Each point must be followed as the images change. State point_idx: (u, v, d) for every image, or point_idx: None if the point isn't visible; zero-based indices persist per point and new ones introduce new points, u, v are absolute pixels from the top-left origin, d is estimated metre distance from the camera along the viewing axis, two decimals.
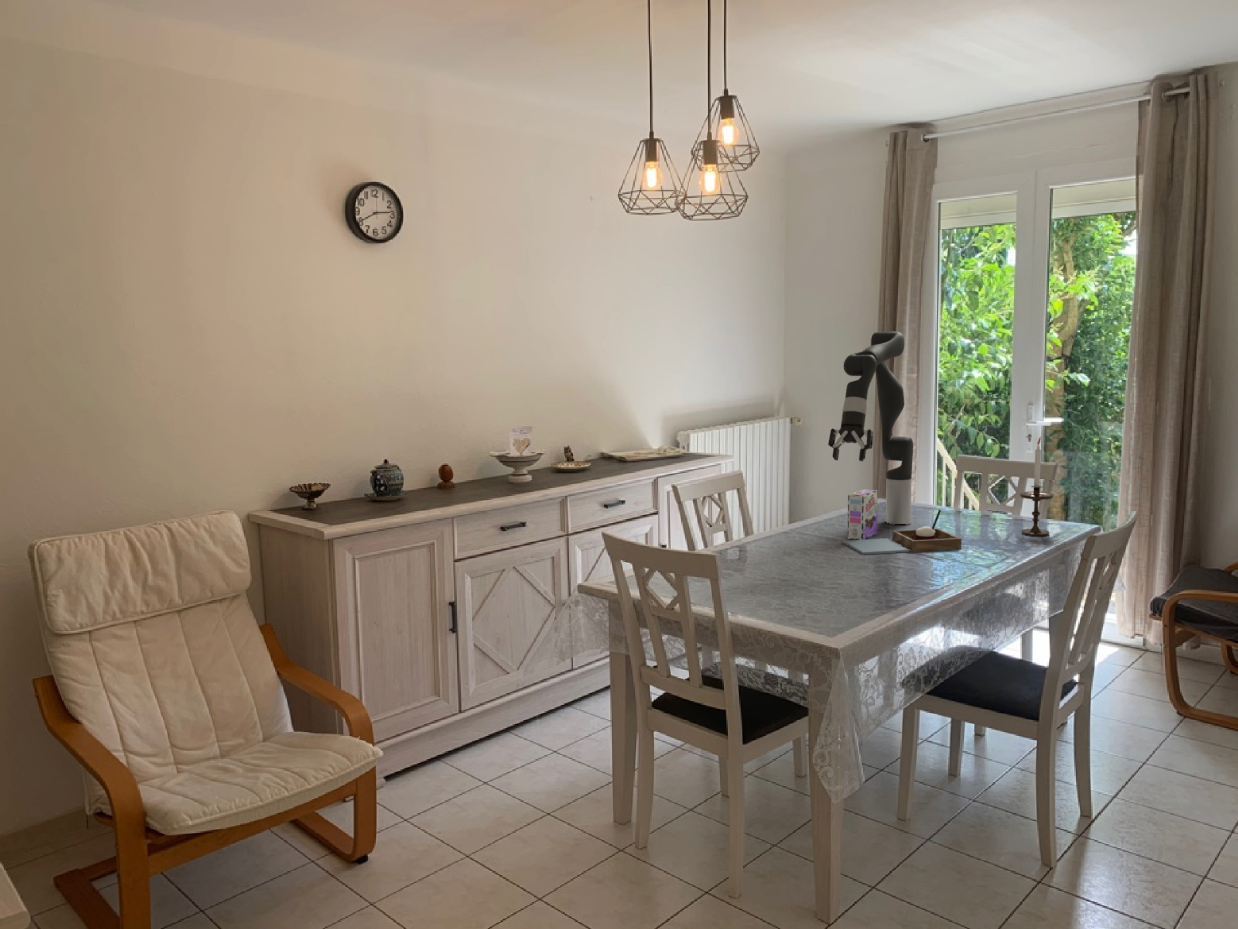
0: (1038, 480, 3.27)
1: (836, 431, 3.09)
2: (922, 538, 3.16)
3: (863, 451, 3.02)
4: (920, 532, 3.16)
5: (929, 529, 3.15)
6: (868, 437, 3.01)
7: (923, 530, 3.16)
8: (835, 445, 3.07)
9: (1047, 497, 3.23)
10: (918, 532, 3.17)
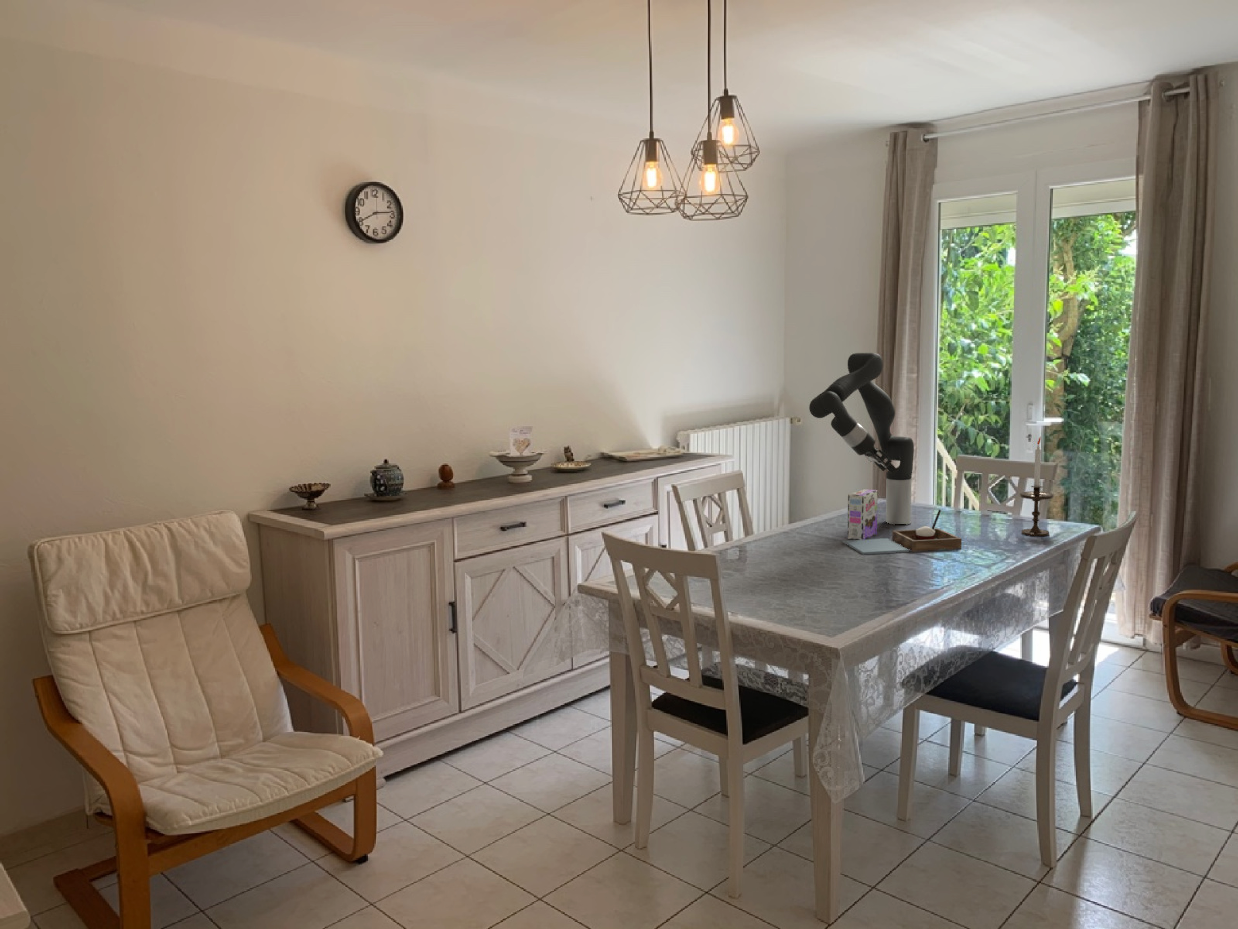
0: (1038, 480, 3.27)
1: None
2: (922, 538, 3.16)
3: (888, 468, 3.08)
4: (920, 532, 3.16)
5: (929, 529, 3.16)
6: (880, 460, 3.06)
7: (923, 530, 3.16)
8: (873, 462, 3.17)
9: (1047, 497, 3.23)
10: (918, 532, 3.17)
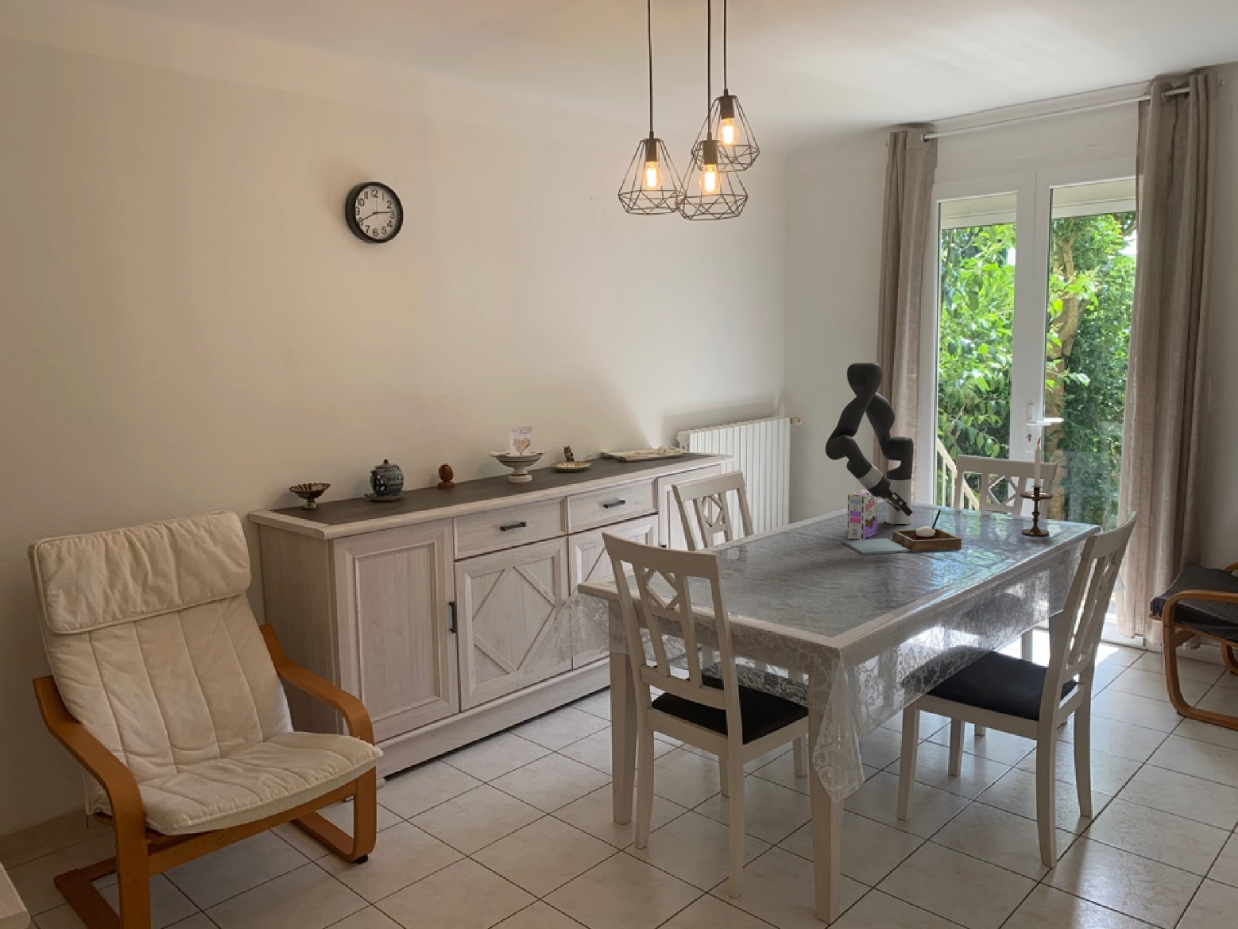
0: (1038, 480, 3.27)
1: None
2: (922, 538, 3.16)
3: (904, 510, 3.11)
4: (920, 532, 3.16)
5: (929, 529, 3.16)
6: (895, 502, 3.09)
7: (923, 530, 3.16)
8: (888, 503, 3.20)
9: (1047, 497, 3.23)
10: (918, 532, 3.17)
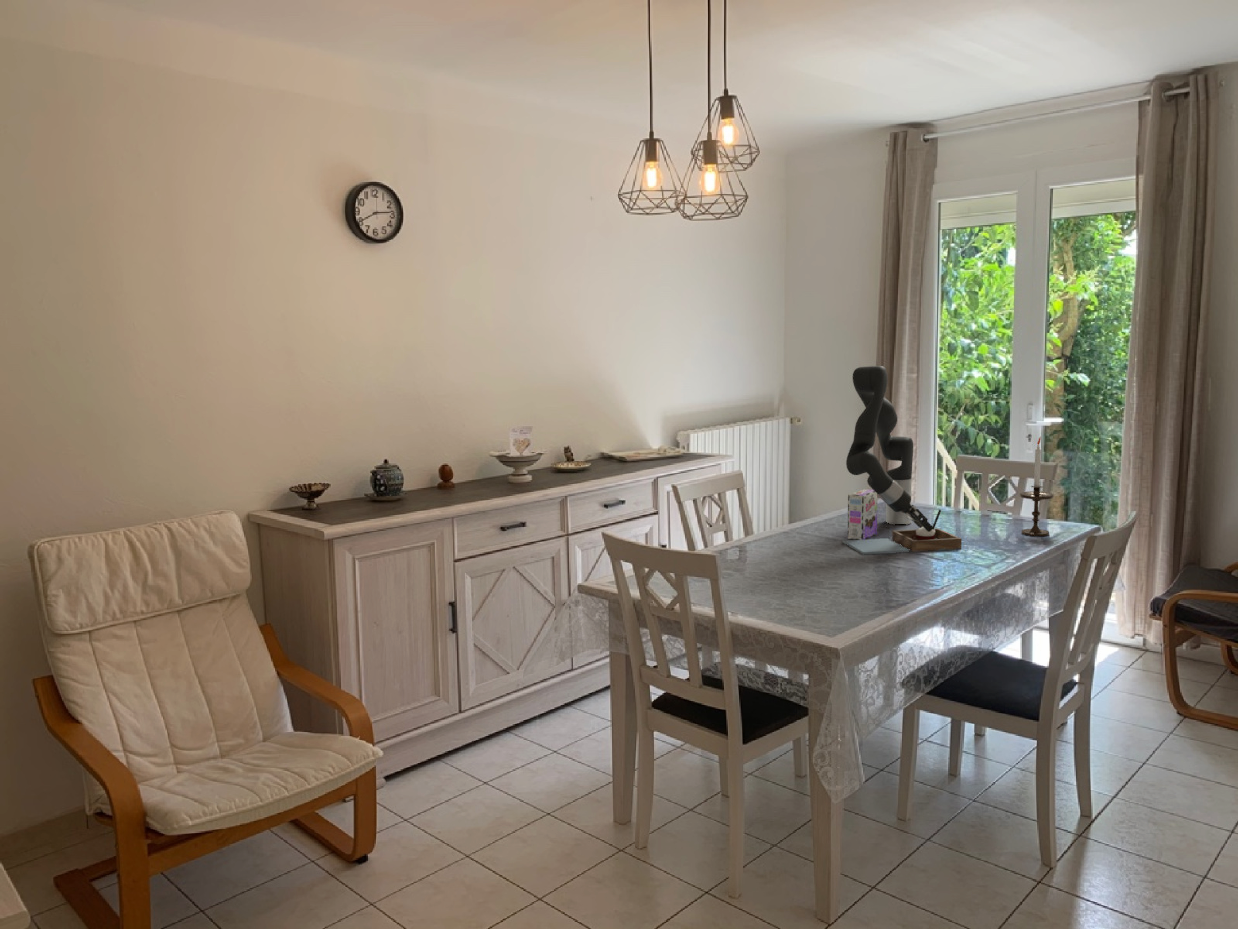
0: (1038, 480, 3.27)
1: None
2: (922, 538, 3.16)
3: (924, 525, 3.14)
4: (920, 532, 3.16)
5: None
6: (916, 519, 3.11)
7: (923, 530, 3.16)
8: (910, 519, 3.21)
9: (1047, 497, 3.23)
10: (918, 532, 3.17)
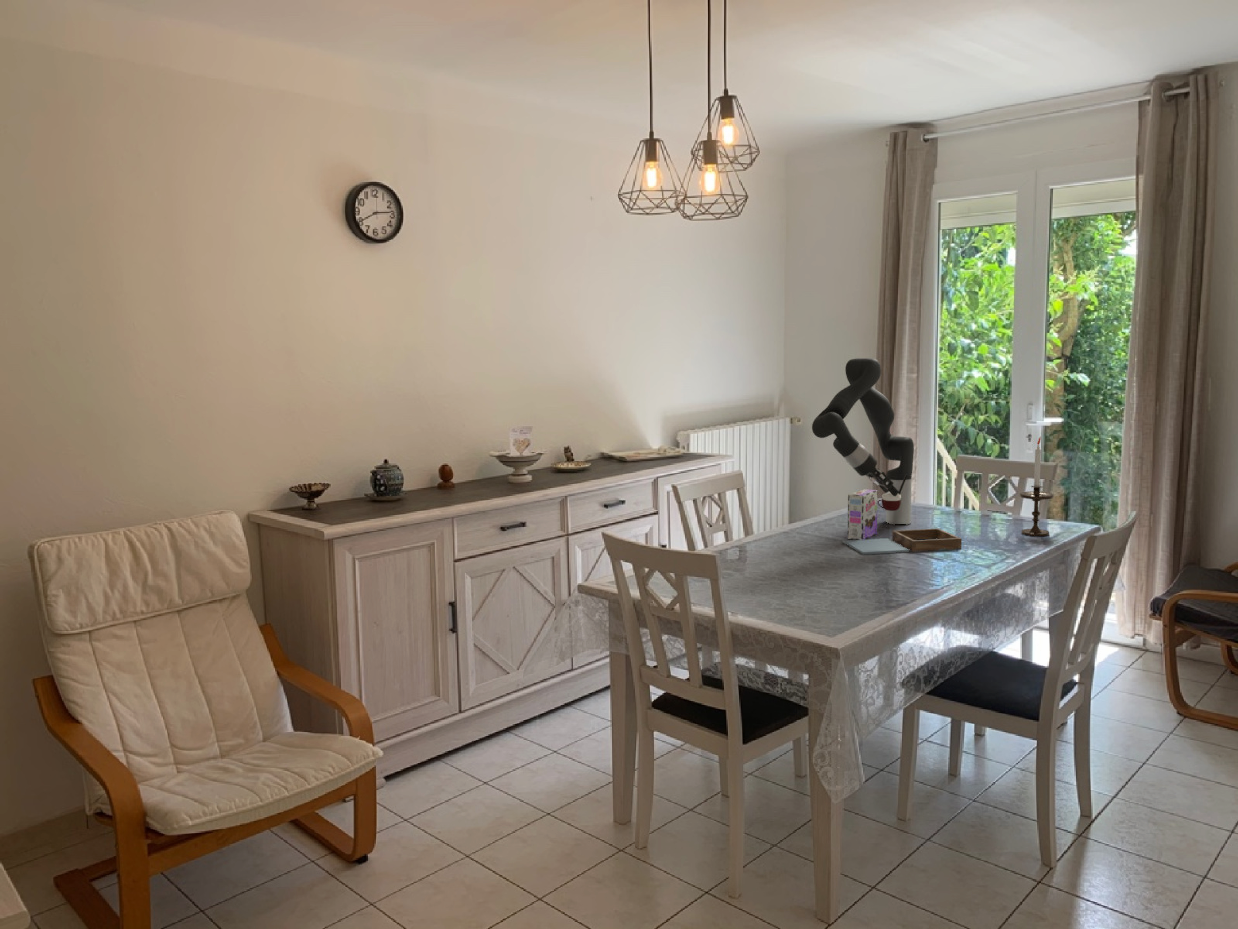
0: (1038, 480, 3.27)
1: None
2: (888, 503, 3.12)
3: (890, 490, 3.10)
4: (886, 497, 3.12)
5: None
6: (882, 482, 3.07)
7: (889, 494, 3.12)
8: (877, 484, 3.17)
9: (1047, 497, 3.23)
10: (884, 497, 3.13)
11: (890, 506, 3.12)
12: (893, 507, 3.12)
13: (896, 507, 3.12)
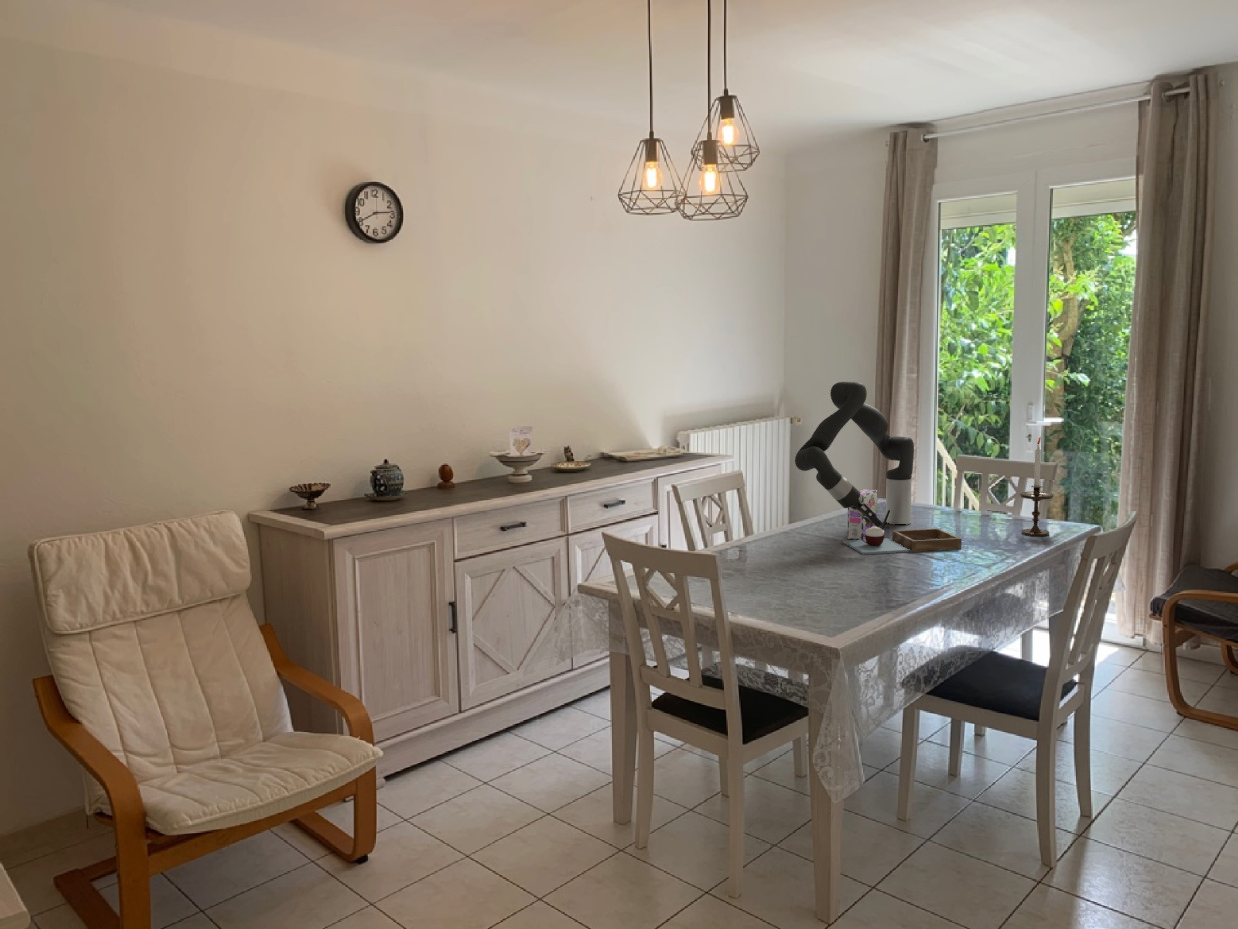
0: (1038, 480, 3.27)
1: None
2: (871, 538, 3.14)
3: (873, 521, 3.10)
4: (869, 532, 3.14)
5: (878, 529, 3.13)
6: (864, 514, 3.08)
7: (872, 530, 3.14)
8: (858, 514, 3.19)
9: (1047, 497, 3.23)
10: (867, 532, 3.15)
11: (873, 542, 3.14)
12: (876, 543, 3.14)
13: (879, 542, 3.14)
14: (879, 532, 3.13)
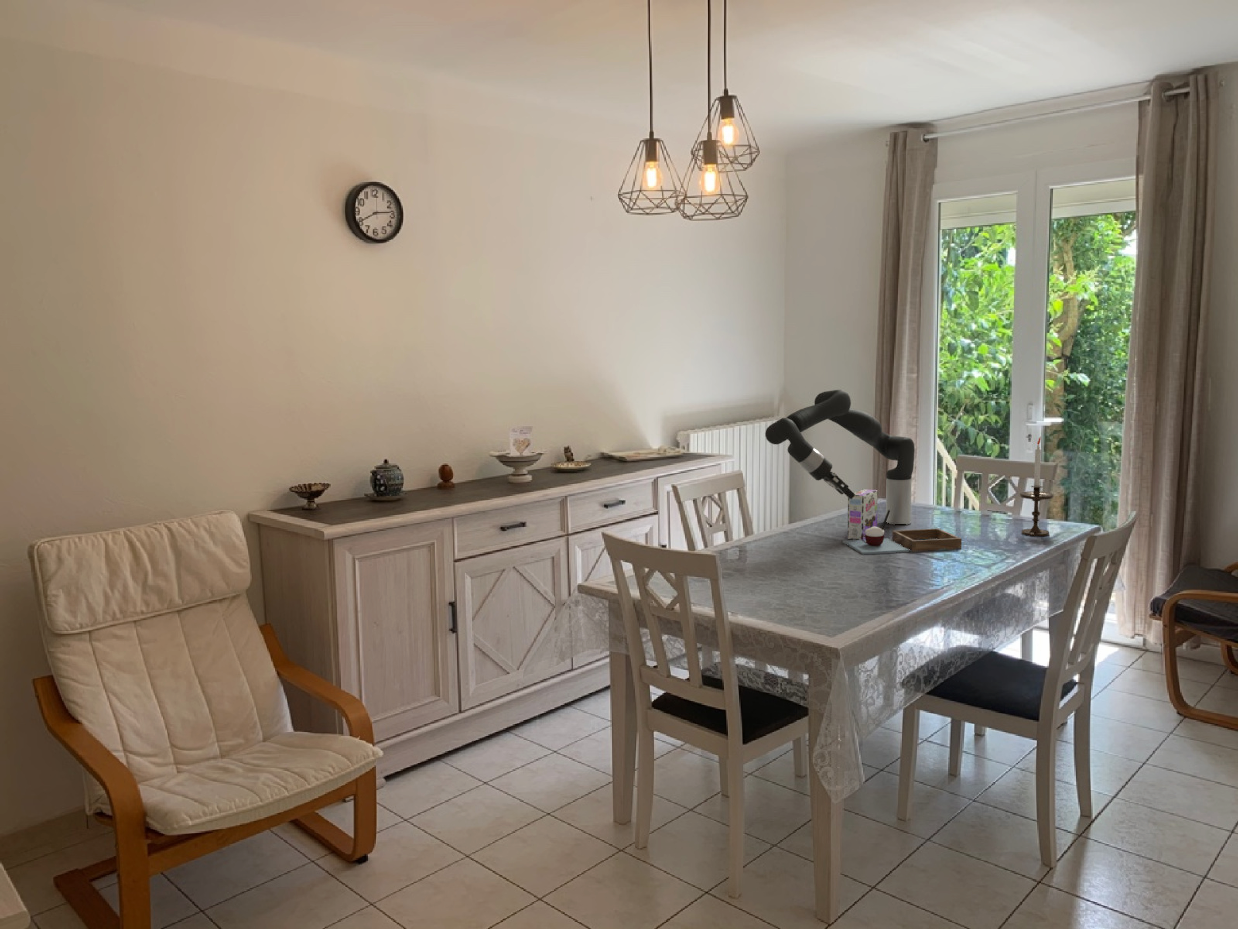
0: (1038, 480, 3.27)
1: None
2: (871, 538, 3.14)
3: (846, 493, 3.08)
4: (869, 532, 3.14)
5: (878, 529, 3.13)
6: (836, 485, 3.06)
7: (872, 530, 3.14)
8: (831, 486, 3.18)
9: (1047, 497, 3.23)
10: (867, 532, 3.15)
11: (873, 542, 3.14)
12: (876, 543, 3.14)
13: (879, 542, 3.14)
14: (879, 532, 3.13)
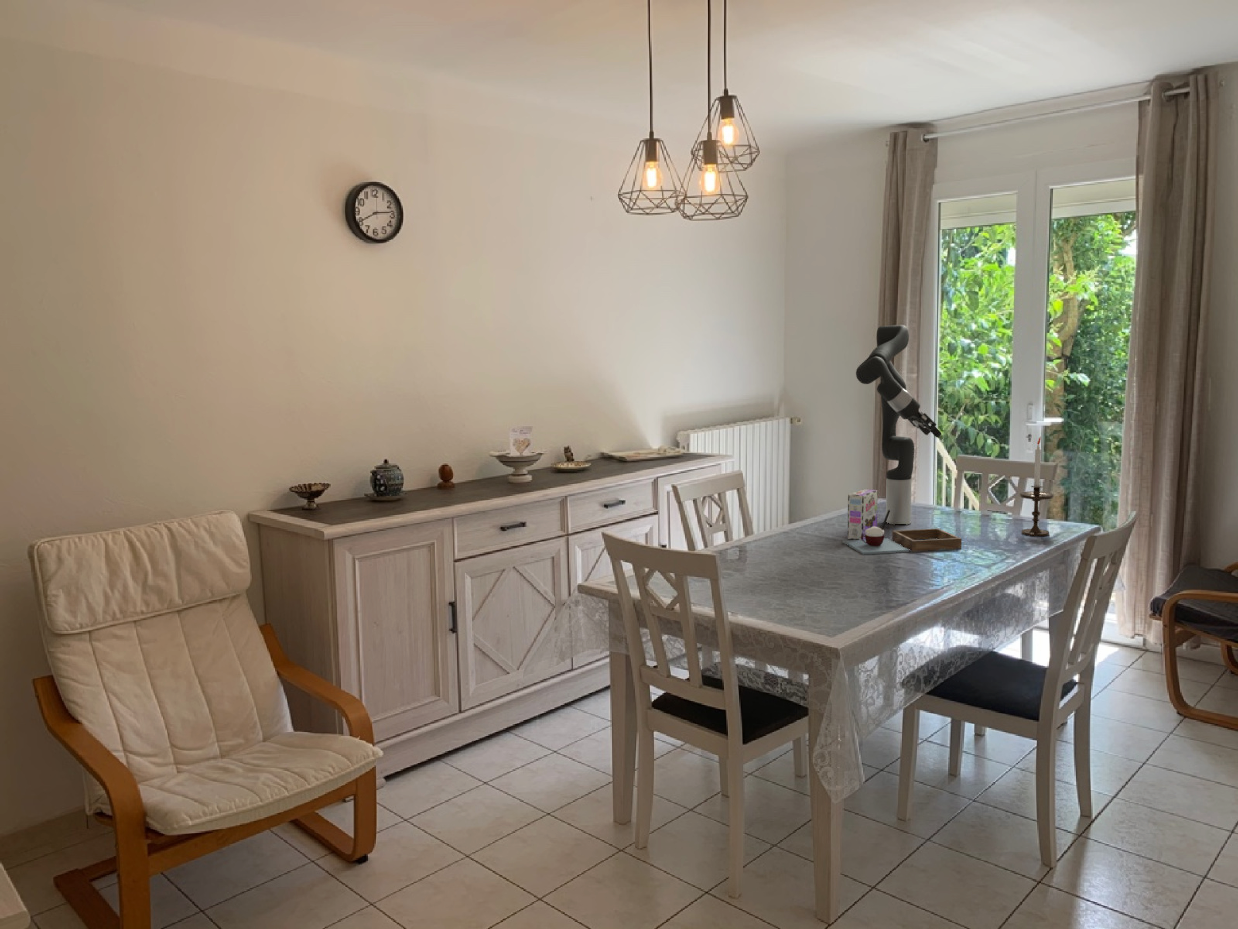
0: (1038, 480, 3.27)
1: None
2: (871, 538, 3.14)
3: (933, 431, 3.20)
4: (869, 532, 3.14)
5: (878, 529, 3.13)
6: (925, 423, 3.18)
7: (872, 530, 3.14)
8: (917, 427, 3.29)
9: (1047, 497, 3.23)
10: (867, 532, 3.15)
11: (873, 542, 3.14)
12: (876, 543, 3.14)
13: (879, 542, 3.14)
14: (879, 532, 3.13)
